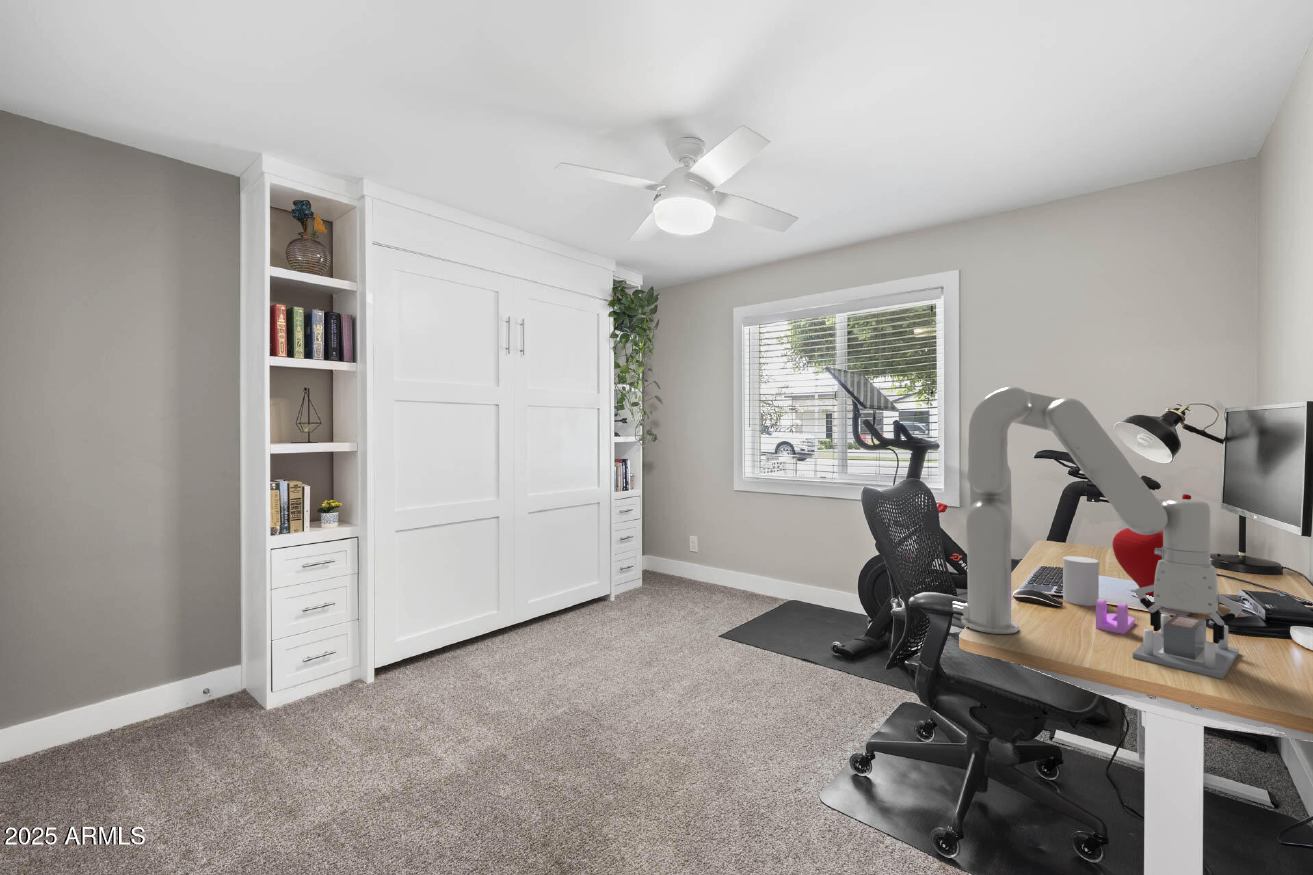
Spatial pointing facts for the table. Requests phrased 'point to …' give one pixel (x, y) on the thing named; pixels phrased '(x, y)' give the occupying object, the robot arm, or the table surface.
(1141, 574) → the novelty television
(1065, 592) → the light grey cylinder
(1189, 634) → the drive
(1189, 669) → the grey fixture base
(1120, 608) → the bracket
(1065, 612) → the table surface
